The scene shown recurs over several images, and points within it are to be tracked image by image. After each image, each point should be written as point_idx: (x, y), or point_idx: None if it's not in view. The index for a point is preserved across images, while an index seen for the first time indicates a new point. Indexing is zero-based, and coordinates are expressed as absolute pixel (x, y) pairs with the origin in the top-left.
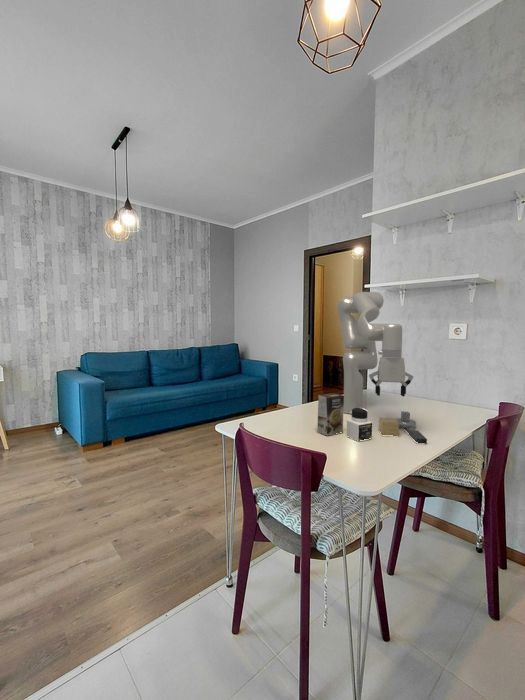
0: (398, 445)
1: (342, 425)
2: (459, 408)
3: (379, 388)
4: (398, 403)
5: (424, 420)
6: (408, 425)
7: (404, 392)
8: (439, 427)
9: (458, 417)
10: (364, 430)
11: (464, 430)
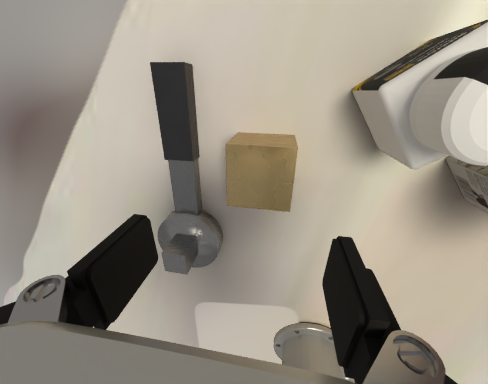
0: (265, 27)
1: (473, 165)
2: None
3: (363, 292)
4: None
5: None
6: (185, 213)
7: (114, 232)
8: (107, 226)
9: None
10: (424, 52)
11: (53, 206)
